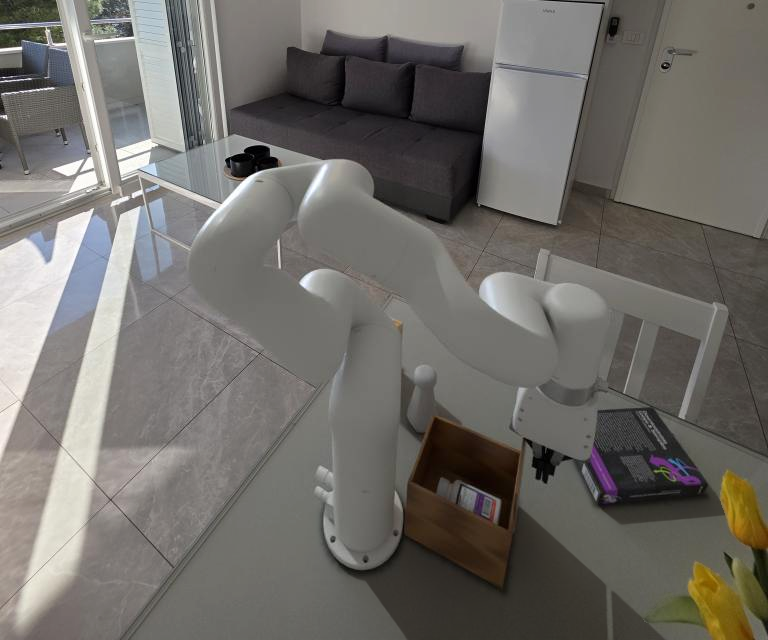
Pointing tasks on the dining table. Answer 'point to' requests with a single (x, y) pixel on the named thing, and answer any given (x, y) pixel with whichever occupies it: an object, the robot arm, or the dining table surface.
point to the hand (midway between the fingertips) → (541, 471)
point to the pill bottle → (471, 499)
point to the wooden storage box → (450, 521)
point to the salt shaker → (423, 398)
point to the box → (638, 459)
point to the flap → (518, 484)
